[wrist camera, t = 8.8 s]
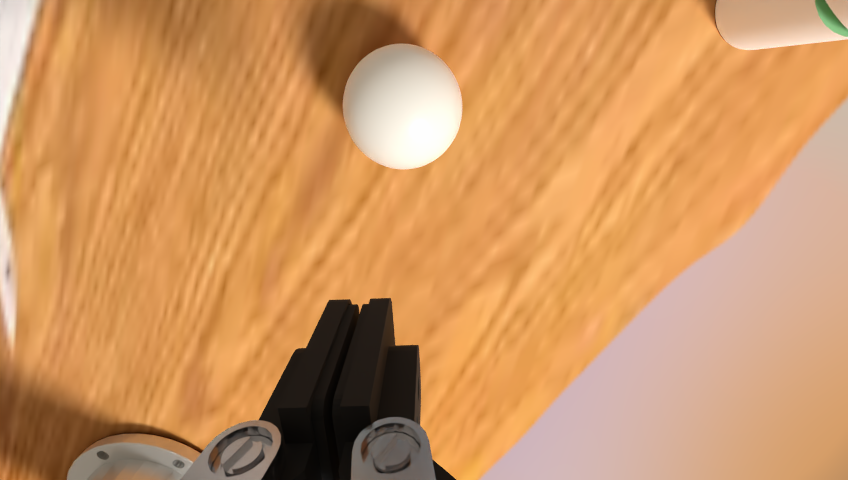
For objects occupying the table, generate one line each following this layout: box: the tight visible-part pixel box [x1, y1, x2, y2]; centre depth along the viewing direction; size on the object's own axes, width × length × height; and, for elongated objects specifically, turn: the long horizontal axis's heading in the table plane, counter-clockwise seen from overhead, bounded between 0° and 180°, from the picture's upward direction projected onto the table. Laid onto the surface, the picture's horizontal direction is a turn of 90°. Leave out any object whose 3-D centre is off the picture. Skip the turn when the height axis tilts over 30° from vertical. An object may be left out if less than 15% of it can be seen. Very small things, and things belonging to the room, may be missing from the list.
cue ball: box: [343, 43, 462, 169], centre depth 18 cm, size 6×6×6 cm
